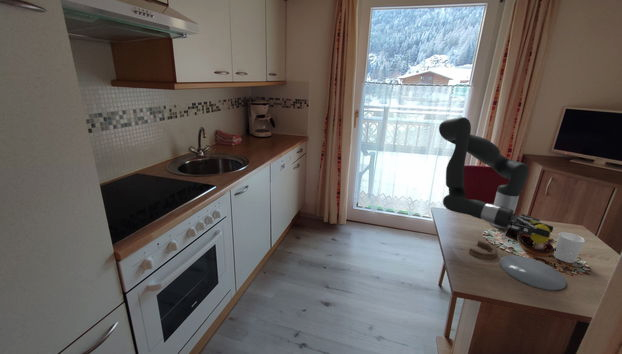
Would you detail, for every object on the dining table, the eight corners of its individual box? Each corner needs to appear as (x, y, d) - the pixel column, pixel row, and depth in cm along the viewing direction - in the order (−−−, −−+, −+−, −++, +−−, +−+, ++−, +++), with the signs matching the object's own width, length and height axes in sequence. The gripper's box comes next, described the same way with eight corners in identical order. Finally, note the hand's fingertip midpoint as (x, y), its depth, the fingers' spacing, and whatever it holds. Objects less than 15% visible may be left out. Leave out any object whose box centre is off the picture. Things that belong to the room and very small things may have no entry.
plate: (507, 251, 119) (507, 249, 119) (569, 274, 106) (570, 272, 105) (492, 269, 106) (493, 267, 106) (561, 298, 92) (562, 296, 92)
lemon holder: (478, 243, 124) (479, 239, 124) (498, 251, 119) (500, 247, 118) (468, 252, 117) (469, 248, 116) (490, 261, 111) (491, 257, 111)
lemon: (529, 245, 102) (535, 225, 99) (526, 238, 106) (532, 219, 104) (548, 249, 99) (555, 229, 97) (544, 242, 104) (551, 223, 101)
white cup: (551, 250, 121) (558, 230, 118) (576, 258, 117) (584, 236, 114) (551, 258, 116) (559, 237, 113) (577, 266, 111) (586, 244, 108)
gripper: (493, 210, 105) (550, 228, 93) (504, 202, 115) (558, 217, 103) (488, 228, 107) (543, 248, 96) (500, 218, 117) (551, 235, 105)
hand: (550, 232), depth 99 cm, fingers closed on lemon, 5 cm apart
